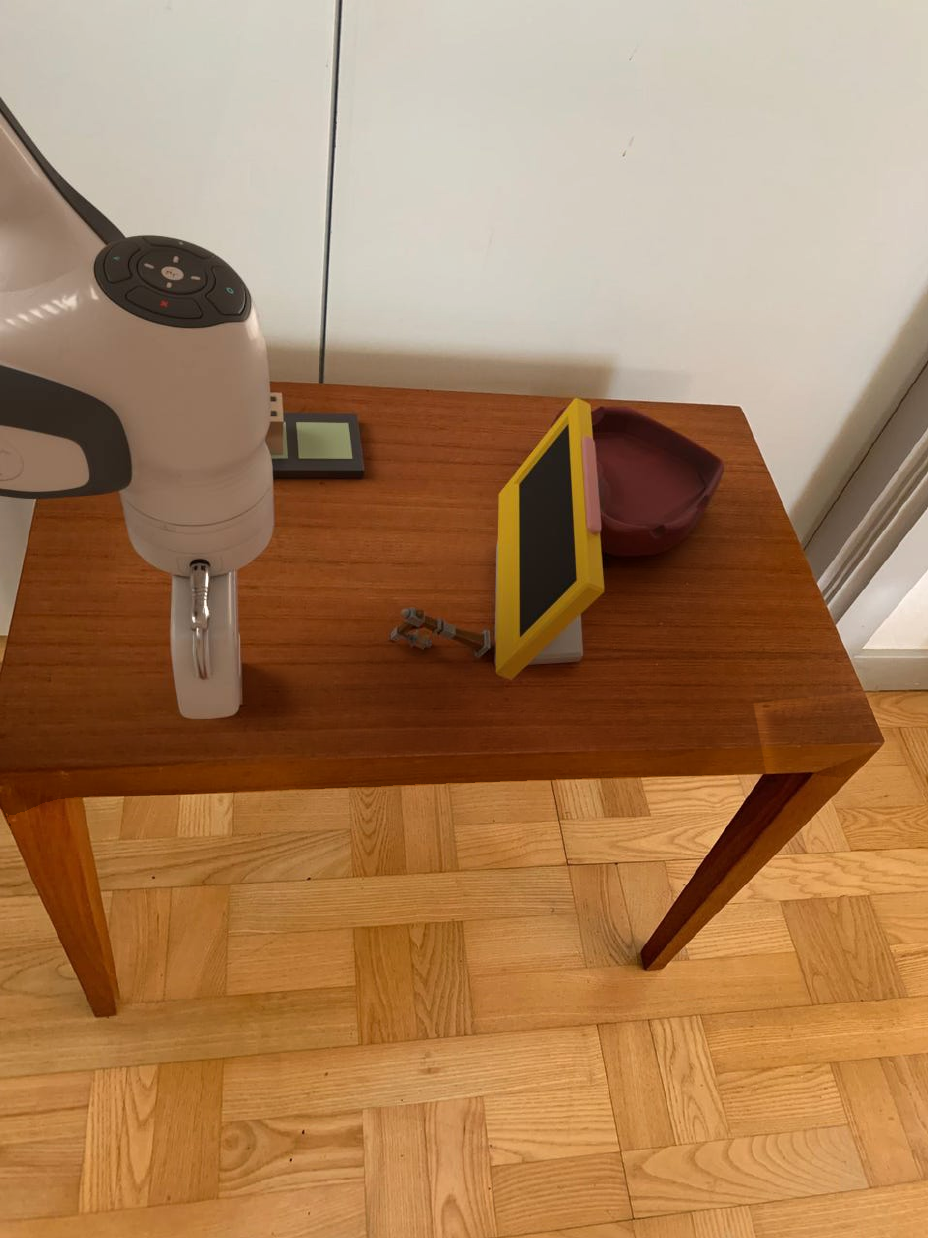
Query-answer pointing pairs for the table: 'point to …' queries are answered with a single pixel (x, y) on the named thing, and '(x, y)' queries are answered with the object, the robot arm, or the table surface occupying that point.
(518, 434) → the table surface
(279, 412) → the tile
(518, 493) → the toy computer monitor
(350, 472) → the dark grey flat block
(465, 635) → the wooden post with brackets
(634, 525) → the ashtray
